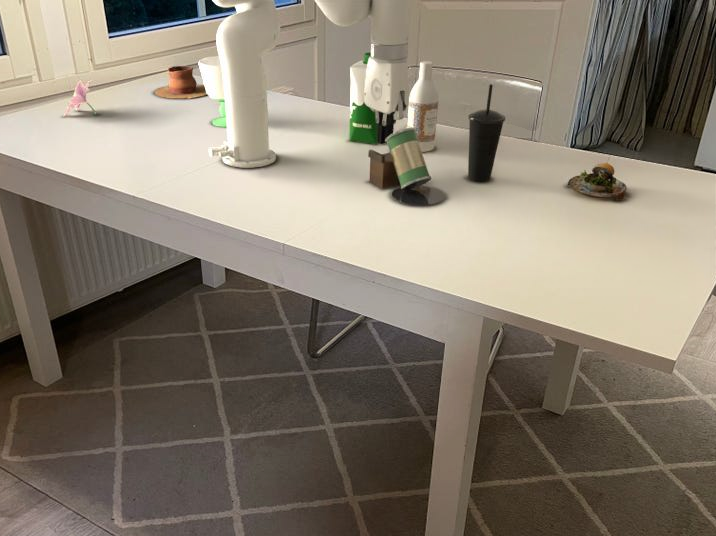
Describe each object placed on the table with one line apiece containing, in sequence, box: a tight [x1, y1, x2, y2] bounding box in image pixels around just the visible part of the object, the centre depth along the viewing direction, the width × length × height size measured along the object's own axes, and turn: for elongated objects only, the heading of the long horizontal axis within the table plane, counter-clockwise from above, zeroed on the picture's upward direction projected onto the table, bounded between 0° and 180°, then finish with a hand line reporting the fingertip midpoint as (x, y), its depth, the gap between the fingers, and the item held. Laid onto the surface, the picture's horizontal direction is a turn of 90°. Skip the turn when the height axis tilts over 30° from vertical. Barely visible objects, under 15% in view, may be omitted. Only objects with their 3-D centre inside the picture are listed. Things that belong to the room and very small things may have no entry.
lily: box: [63, 78, 98, 117], centre depth 199 cm, size 12×12×10 cm
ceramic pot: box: [154, 65, 208, 100], centre depth 220 cm, size 18×18×7 cm
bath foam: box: [406, 60, 439, 153], centre depth 170 cm, size 7×7×20 cm
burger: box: [567, 156, 628, 202], centre depth 149 cm, size 12×12×8 cm
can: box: [385, 127, 432, 191], centre depth 148 cm, size 7×12×13 cm, turn 31°
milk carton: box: [349, 52, 379, 145], centre depth 176 cm, size 9×9×20 cm
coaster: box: [391, 185, 445, 207], centre depth 149 cm, size 11×11×1 cm
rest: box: [368, 149, 401, 190], centre depth 154 cm, size 9×5×7 cm, turn 121°
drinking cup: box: [467, 84, 506, 184], centre depth 152 cm, size 8×8×20 cm
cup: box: [198, 55, 227, 128], centre depth 190 cm, size 14×14×16 cm
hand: (384, 142), depth 154 cm, fingers closed
